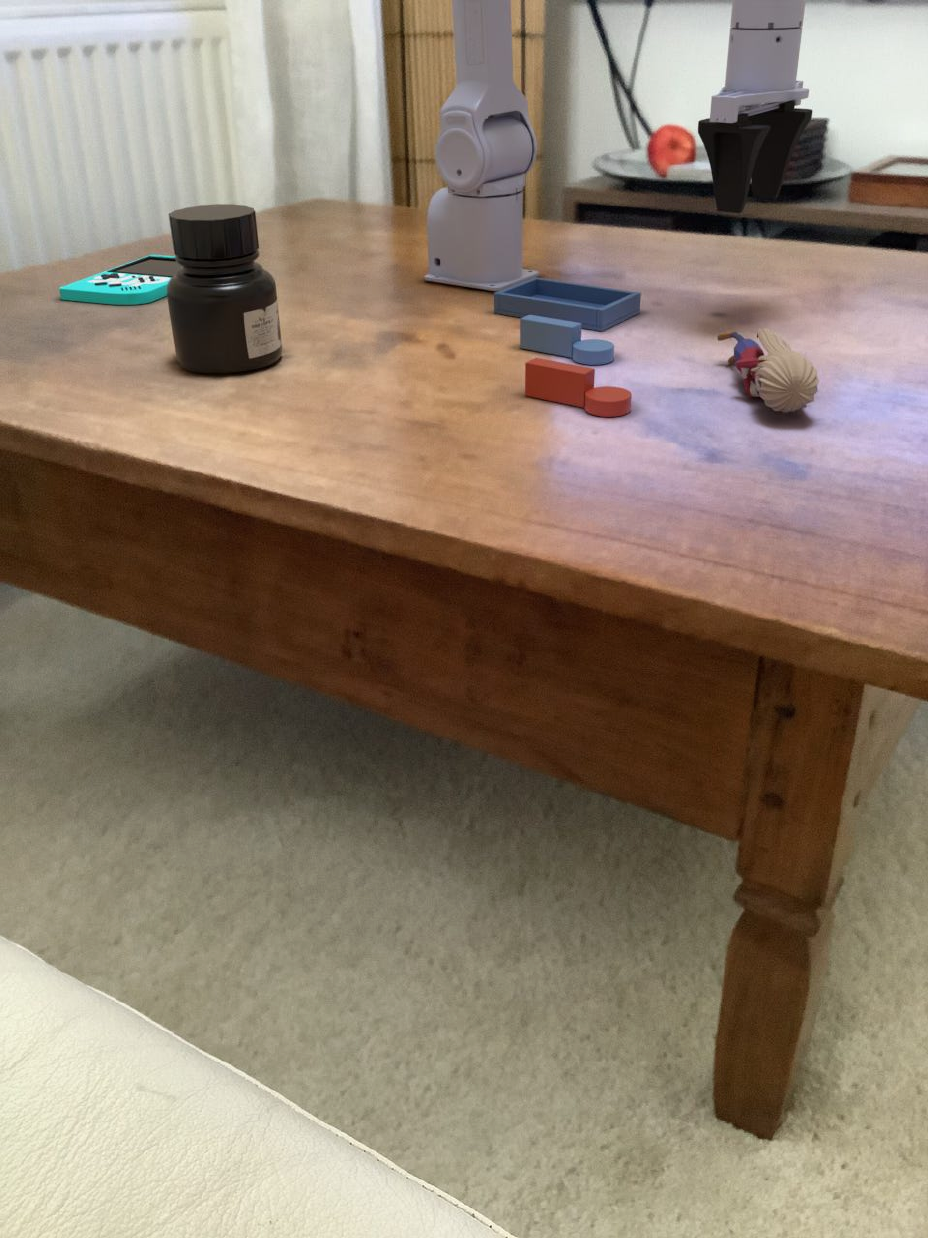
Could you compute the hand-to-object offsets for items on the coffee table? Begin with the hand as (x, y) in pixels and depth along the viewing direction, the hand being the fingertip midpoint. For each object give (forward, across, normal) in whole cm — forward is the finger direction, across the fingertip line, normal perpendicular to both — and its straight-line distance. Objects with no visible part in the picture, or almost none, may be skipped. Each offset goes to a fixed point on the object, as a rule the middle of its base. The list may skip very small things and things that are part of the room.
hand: (747, 204), depth 98 cm
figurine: (+10, -18, -10) cm, 23 cm away
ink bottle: (+10, -34, +31) cm, 47 cm away
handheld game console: (+10, -20, +58) cm, 62 cm away
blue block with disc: (+10, -17, +8) cm, 22 cm away
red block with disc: (+10, -27, +1) cm, 29 cm away
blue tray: (+10, -6, +14) cm, 19 cm away
